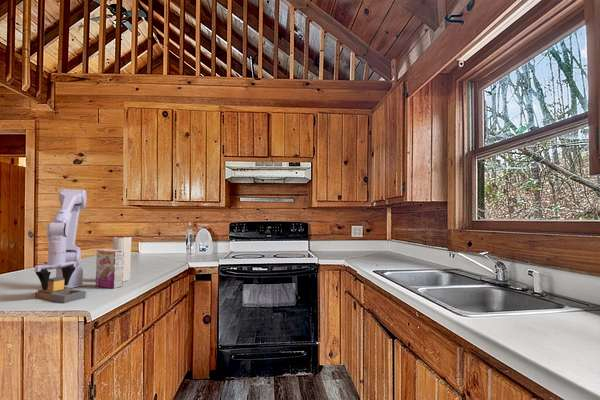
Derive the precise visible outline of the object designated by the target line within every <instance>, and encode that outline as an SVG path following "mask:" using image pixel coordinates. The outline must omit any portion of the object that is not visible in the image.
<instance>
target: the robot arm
mask: <svg viewBox="0 0 600 400" xmlns="http://www.w3.org/2000/svg"><path fill="white" fill-rule="evenodd" d="M87 196H88V195H87V191H86V189H71V188H70V189H66V188H60V189H59V191H58V201H59V204H60V209H57V210H56V212H55V214H54V215H53V219H52V221H51V222H50V223H47V227H46V240H47V242H48V246H47V247H48V249H47V250H48V252H47V263H45V264H41V265H35V266H34V272H35V275H36V276H37V277H38V280H39V281H40V286H41V289H45V290H46V289H48V281H49V278H50V277H51V273H52V272H51V270H55V277H62V278H64V287H70V288H72V289H74V288H77V287H79V288H80V287H83V286H84V284H83V283H84V282H83V281H84V280H83V279H84V278H83V277H84V270H83V268H82V267H81V263H82V250H81V247H79V246H77V245H76V239H77V233H78V232H77V230H78V224H79V217H80V214H81V211H83V210H84V209H85V208H86V205H87Z"/></svg>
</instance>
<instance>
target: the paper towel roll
mask: <svg viewBox="0 0 600 400" xmlns="http://www.w3.org/2000/svg"><path fill="white" fill-rule="evenodd" d="M132 238H133V237H132V236H130V237H129V236H115V237H113V239H112V250H122V251H124V259H123V283H124V282H127V281H129V280H131V262H132V261H131V260H132V259H131V256H132Z"/></svg>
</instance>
